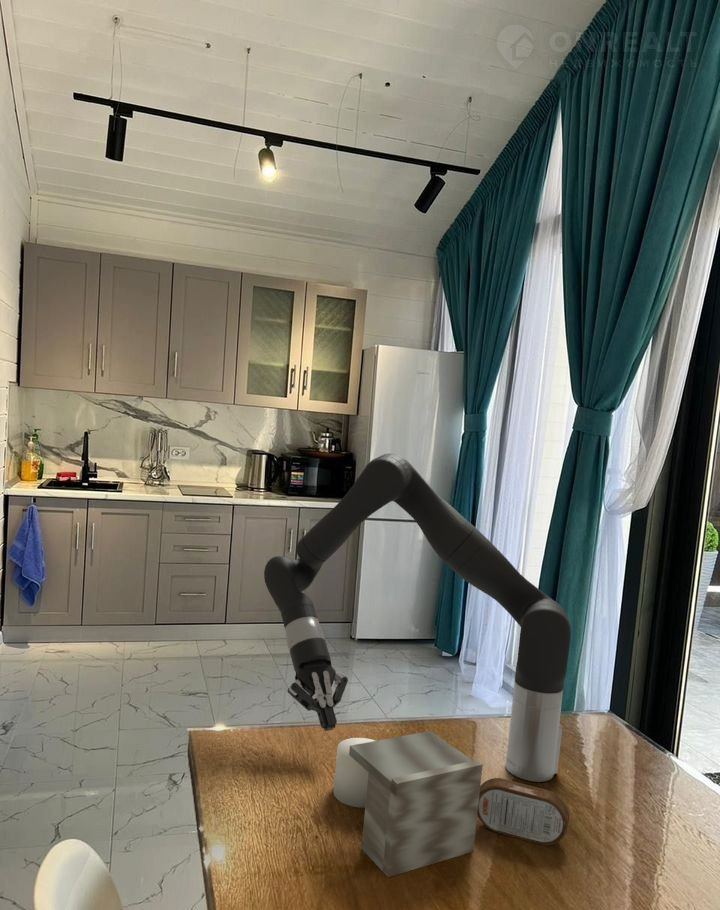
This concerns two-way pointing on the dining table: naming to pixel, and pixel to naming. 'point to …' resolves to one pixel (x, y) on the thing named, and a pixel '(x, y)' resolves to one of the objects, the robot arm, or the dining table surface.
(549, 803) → the tin
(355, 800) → the paper roll
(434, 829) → the overhanging lid box
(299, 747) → the dining table surface
